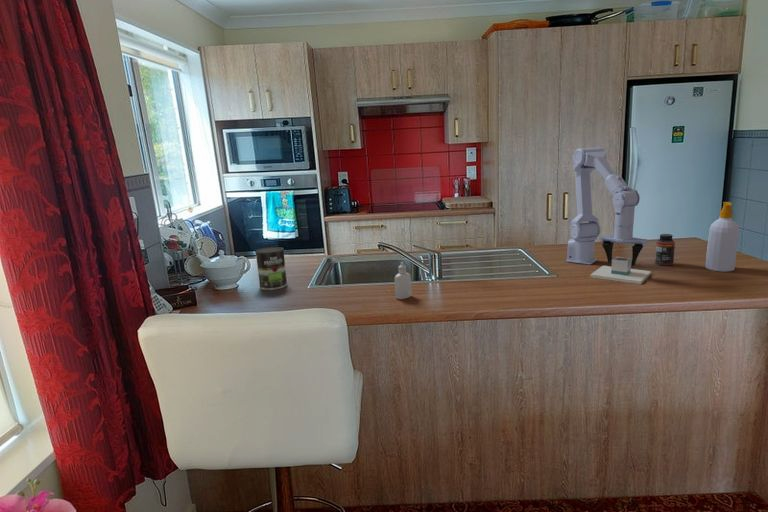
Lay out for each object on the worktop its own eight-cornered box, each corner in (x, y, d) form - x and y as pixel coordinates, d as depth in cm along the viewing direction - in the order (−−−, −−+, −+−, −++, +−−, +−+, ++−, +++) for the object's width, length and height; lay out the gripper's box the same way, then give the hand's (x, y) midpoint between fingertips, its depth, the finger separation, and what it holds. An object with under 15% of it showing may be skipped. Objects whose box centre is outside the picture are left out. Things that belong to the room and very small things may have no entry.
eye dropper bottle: (394, 295, 156) (392, 261, 154) (410, 294, 157) (409, 259, 154) (396, 300, 152) (394, 264, 149) (413, 298, 153) (411, 263, 150)
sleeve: (611, 273, 164) (612, 259, 163) (615, 270, 168) (616, 256, 167) (626, 275, 161) (627, 261, 160) (630, 272, 164) (631, 258, 163)
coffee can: (290, 286, 173) (286, 250, 170) (263, 292, 169) (258, 254, 165) (283, 280, 182) (279, 245, 179) (256, 285, 178) (252, 249, 174)
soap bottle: (708, 271, 163) (716, 204, 157) (702, 264, 171) (709, 200, 166) (738, 273, 160) (747, 204, 154) (730, 266, 168) (738, 200, 163)
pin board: (590, 277, 164) (591, 264, 163) (602, 268, 175) (603, 256, 174) (640, 284, 154) (641, 271, 153) (650, 274, 164) (651, 261, 163)
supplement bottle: (668, 261, 178) (671, 232, 175) (676, 266, 172) (679, 236, 169) (651, 262, 178) (654, 233, 176) (659, 266, 173) (661, 236, 170)
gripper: (598, 225, 162) (596, 263, 165) (644, 229, 152) (641, 269, 156) (604, 222, 167) (602, 259, 170) (649, 225, 158) (646, 264, 161)
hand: (621, 263), depth 163 cm, fingers open, 7 cm apart
